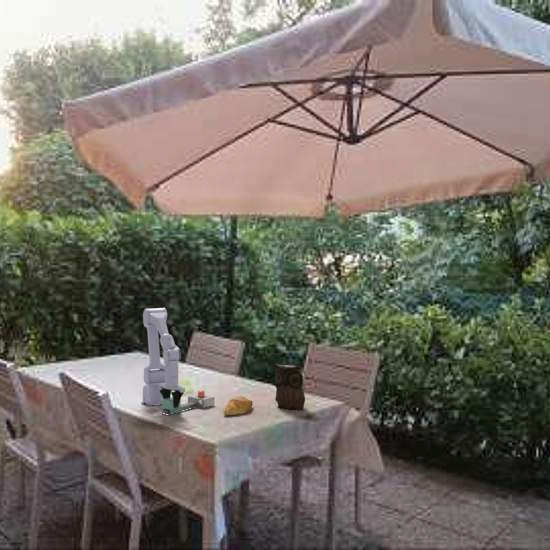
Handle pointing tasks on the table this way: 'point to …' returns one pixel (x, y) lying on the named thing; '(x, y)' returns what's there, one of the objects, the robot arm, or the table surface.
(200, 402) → the block with square hole
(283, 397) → the owl
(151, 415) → the table surface
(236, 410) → the croissant
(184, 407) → the rail
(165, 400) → the block
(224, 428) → the table surface
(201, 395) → the push button
